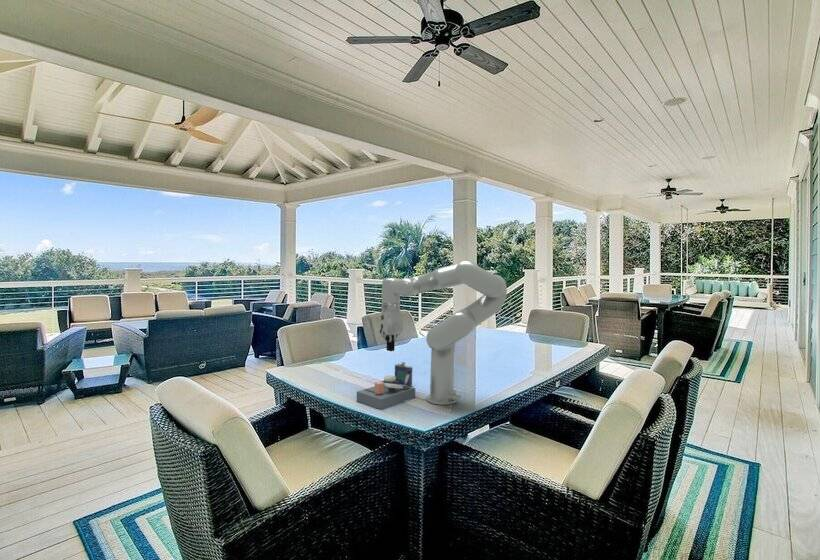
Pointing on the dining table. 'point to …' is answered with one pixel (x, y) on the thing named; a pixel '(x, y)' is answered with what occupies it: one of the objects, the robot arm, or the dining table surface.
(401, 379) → the flask
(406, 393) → the grey low block
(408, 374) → the toggle lever
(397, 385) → the rocker
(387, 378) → the push button
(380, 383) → the slider knob
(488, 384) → the dining table surface
